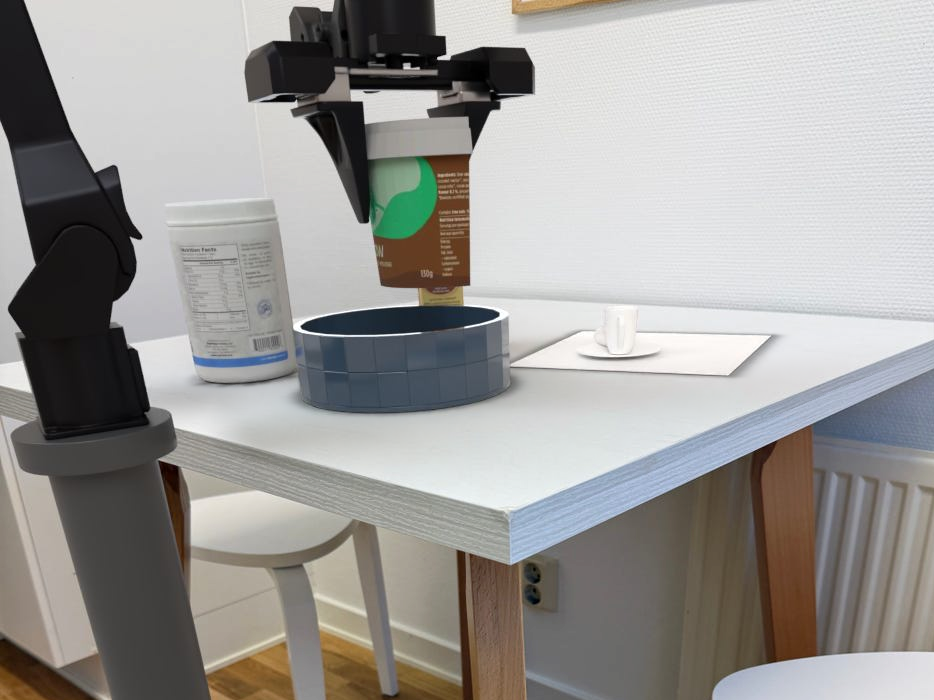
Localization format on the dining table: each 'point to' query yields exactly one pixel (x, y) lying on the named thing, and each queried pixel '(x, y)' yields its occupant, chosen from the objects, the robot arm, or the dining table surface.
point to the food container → (420, 201)
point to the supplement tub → (233, 288)
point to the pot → (402, 357)
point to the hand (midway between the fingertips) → (405, 220)
